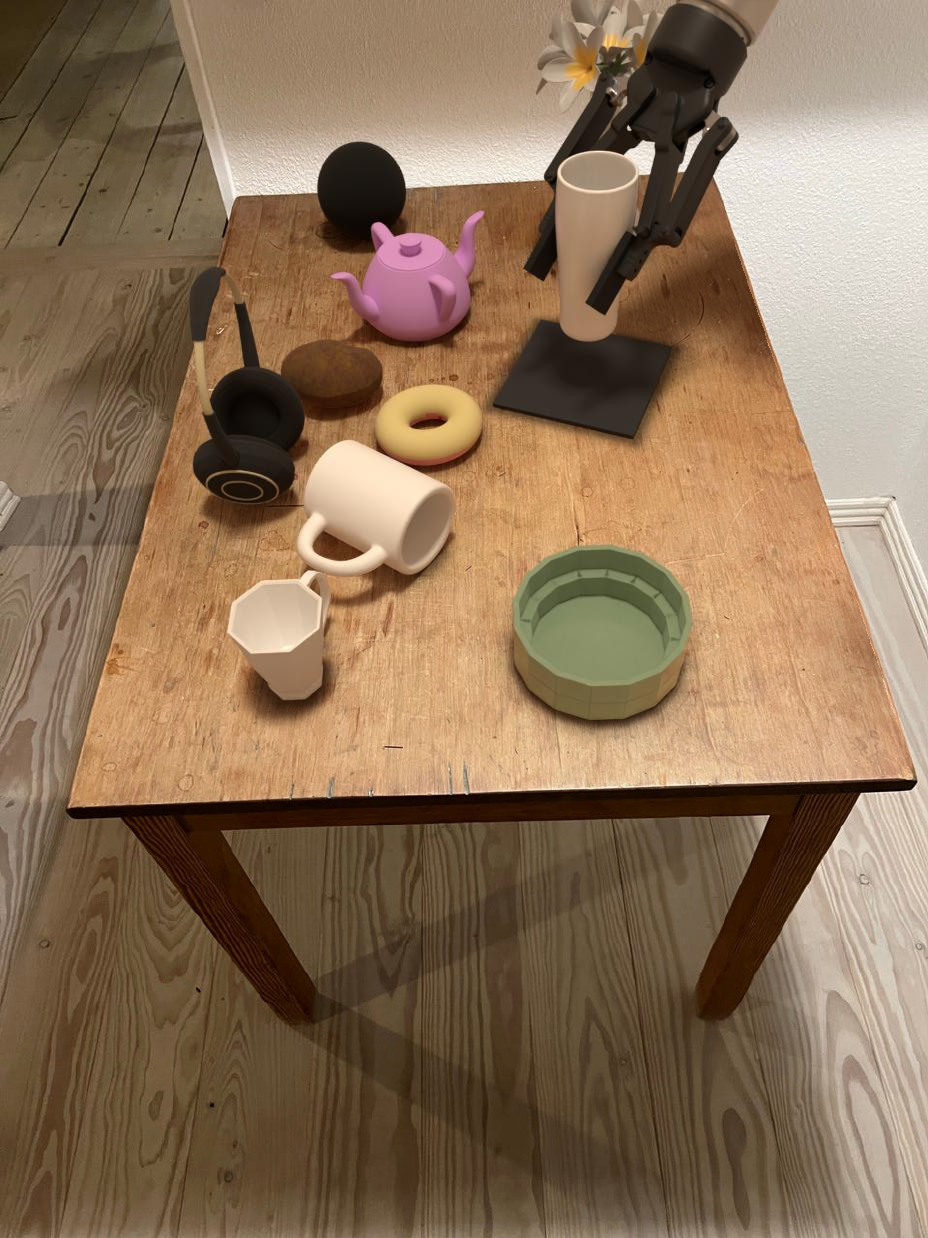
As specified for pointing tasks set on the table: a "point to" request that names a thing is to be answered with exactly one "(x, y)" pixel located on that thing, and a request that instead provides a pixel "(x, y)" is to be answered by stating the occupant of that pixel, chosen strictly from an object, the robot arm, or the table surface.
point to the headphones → (242, 411)
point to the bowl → (600, 631)
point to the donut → (432, 442)
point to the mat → (584, 380)
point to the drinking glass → (591, 234)
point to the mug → (374, 511)
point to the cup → (283, 632)
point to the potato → (332, 373)
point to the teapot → (414, 283)
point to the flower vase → (596, 47)
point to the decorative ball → (361, 189)
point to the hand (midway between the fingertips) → (563, 291)
